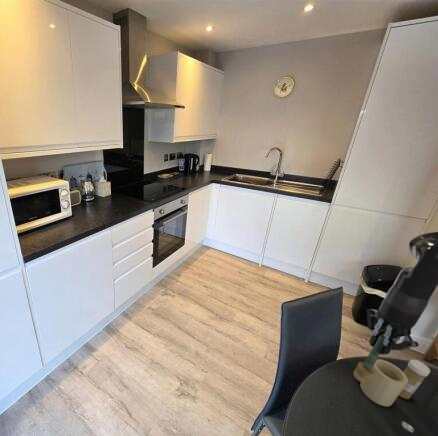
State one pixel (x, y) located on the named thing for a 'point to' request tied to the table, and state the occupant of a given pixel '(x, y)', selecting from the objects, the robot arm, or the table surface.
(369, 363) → the brush
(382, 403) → the jar
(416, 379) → the sprinkles bottle
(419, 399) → the table surface
